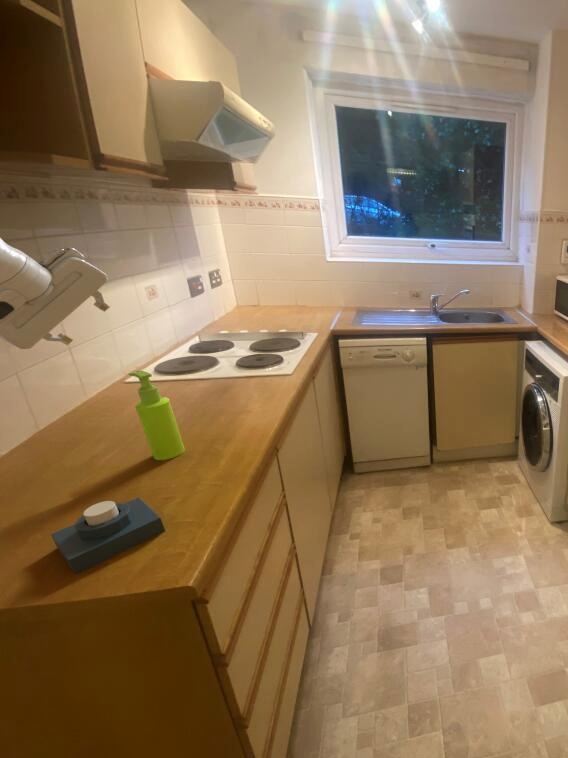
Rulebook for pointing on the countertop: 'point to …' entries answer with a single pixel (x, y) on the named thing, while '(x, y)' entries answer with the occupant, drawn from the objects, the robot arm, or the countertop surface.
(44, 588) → the countertop surface
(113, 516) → the button
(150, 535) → the button housing
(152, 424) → the soap dispenser
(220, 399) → the countertop surface
